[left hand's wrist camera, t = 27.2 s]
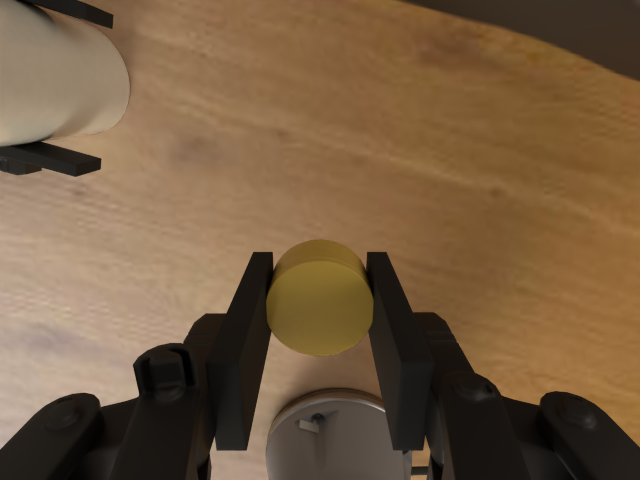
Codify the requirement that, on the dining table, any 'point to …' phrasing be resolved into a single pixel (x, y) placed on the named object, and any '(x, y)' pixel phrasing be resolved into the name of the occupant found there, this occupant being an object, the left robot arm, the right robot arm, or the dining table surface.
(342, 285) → the cap
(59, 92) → the bottle
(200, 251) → the dining table surface
